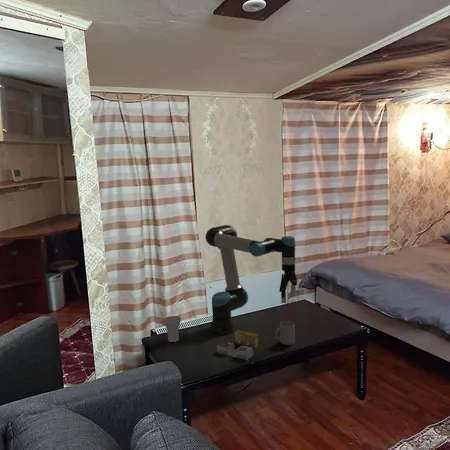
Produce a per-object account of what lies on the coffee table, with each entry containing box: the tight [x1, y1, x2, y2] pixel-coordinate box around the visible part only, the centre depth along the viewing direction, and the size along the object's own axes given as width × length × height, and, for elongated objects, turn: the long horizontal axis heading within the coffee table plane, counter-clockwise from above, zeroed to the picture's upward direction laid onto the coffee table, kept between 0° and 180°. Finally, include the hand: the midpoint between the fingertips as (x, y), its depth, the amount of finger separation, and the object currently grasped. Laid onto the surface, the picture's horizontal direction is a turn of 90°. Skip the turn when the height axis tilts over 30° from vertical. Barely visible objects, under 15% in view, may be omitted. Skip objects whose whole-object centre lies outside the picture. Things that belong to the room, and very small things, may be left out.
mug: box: [274, 320, 296, 346], centre depth 237 cm, size 12×8×11 cm
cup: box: [162, 315, 182, 343], centre depth 245 cm, size 10×10×14 cm
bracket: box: [216, 340, 254, 361], centre depth 226 cm, size 19×7×4 cm, turn 56°
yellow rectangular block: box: [234, 329, 259, 349], centre depth 236 cm, size 14×3×7 cm, turn 56°
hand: (288, 299), depth 238 cm, fingers open, 13 cm apart
